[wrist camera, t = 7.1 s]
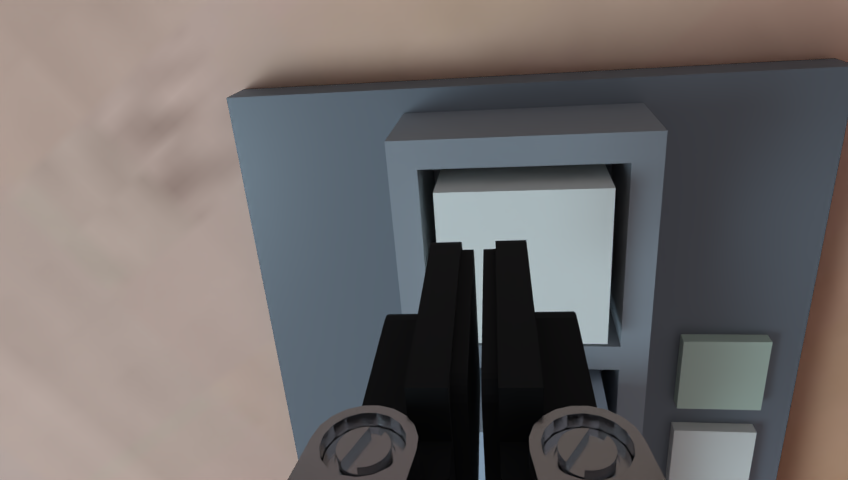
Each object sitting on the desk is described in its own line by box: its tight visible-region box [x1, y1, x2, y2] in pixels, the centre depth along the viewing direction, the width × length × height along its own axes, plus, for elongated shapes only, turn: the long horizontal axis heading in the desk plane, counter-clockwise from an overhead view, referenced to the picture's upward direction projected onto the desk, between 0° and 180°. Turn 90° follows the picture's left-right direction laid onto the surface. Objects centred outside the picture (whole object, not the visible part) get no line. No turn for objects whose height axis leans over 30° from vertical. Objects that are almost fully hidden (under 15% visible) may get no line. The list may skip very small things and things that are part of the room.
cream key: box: [433, 164, 616, 344], centre depth 16 cm, size 4×4×3 cm
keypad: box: [227, 58, 848, 480], centre depth 20 cm, size 24×16×4 cm, turn 5°
